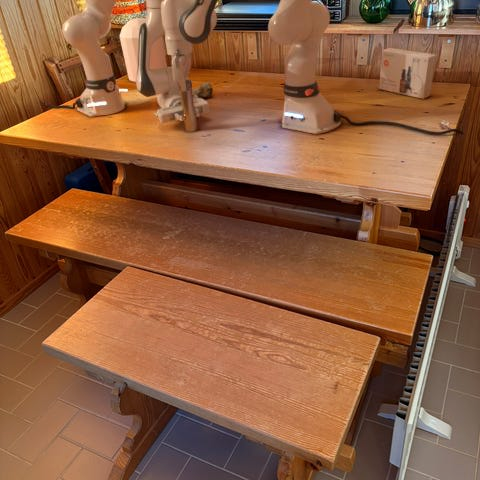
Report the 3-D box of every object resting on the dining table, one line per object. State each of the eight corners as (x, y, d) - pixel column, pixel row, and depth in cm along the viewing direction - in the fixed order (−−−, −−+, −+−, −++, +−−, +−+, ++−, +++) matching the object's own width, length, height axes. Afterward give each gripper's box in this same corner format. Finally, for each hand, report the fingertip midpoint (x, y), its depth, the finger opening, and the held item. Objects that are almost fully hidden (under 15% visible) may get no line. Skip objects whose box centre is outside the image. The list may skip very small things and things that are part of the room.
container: (160, 81, 233) (149, 21, 217) (121, 82, 238) (108, 23, 222) (174, 69, 249) (165, 13, 233) (138, 70, 254) (126, 15, 238)
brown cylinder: (186, 132, 173) (178, 86, 163) (185, 128, 177) (177, 82, 167) (198, 130, 173) (191, 84, 164) (196, 126, 177) (190, 81, 167)
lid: (194, 86, 167) (194, 80, 166) (187, 90, 163) (186, 84, 162) (183, 85, 169) (182, 79, 168) (175, 89, 165) (174, 83, 164)
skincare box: (377, 89, 194) (381, 50, 185) (385, 86, 197) (389, 47, 188) (423, 99, 180) (429, 56, 171) (430, 95, 183) (437, 53, 174)
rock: (187, 97, 210) (190, 100, 202) (185, 83, 208) (188, 85, 199) (210, 94, 212) (214, 97, 204) (208, 80, 210) (212, 82, 201)
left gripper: (151, 105, 177) (162, 115, 166) (200, 93, 183) (214, 102, 173) (154, 121, 180) (165, 131, 170) (202, 109, 187) (216, 118, 176)
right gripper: (184, 53, 150) (190, 96, 157) (191, 40, 166) (197, 79, 174) (165, 55, 150) (172, 97, 158) (174, 41, 167) (180, 80, 175)
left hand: (190, 116), depth 171 cm, fingers closed on brown cylinder, 4 cm apart
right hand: (185, 87), depth 166 cm, fingers closed on lid, 5 cm apart
